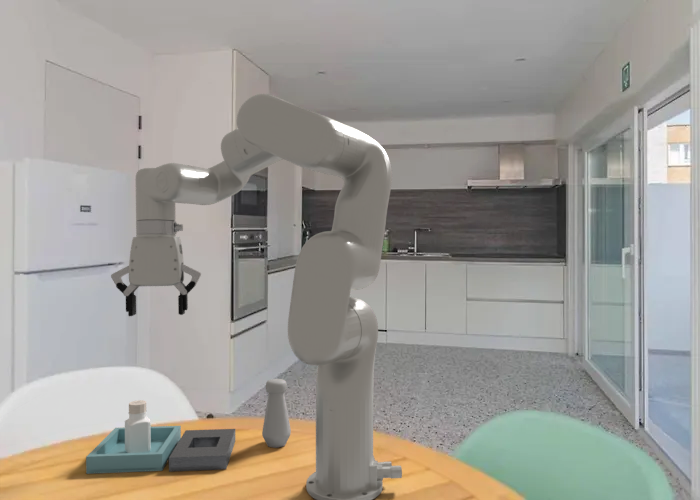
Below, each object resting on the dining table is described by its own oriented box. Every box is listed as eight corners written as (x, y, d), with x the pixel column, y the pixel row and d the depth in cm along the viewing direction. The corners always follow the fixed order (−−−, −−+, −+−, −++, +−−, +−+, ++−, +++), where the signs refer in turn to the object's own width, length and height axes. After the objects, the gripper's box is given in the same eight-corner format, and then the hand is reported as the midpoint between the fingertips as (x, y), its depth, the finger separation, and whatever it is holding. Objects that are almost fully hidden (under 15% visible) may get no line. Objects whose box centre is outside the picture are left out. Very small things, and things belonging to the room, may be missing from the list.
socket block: (235, 440, 109) (235, 428, 109) (226, 469, 95) (226, 455, 95) (185, 442, 108) (185, 430, 108) (169, 471, 94) (169, 457, 94)
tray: (180, 440, 110) (180, 425, 110) (162, 470, 95) (162, 454, 95) (115, 442, 108) (115, 427, 108) (86, 473, 93) (86, 456, 93)
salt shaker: (293, 439, 110) (293, 376, 110) (287, 449, 104) (287, 384, 104) (266, 438, 111) (265, 376, 111) (258, 448, 105) (258, 383, 105)
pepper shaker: (129, 457, 99) (129, 406, 99) (124, 451, 102) (123, 401, 102) (151, 452, 101) (151, 403, 101) (145, 446, 104) (145, 398, 104)
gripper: (202, 230, 112) (203, 311, 112) (117, 231, 110) (118, 313, 110) (197, 229, 105) (198, 315, 105) (105, 229, 102) (106, 318, 102)
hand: (157, 314), depth 107 cm, fingers open, 9 cm apart
